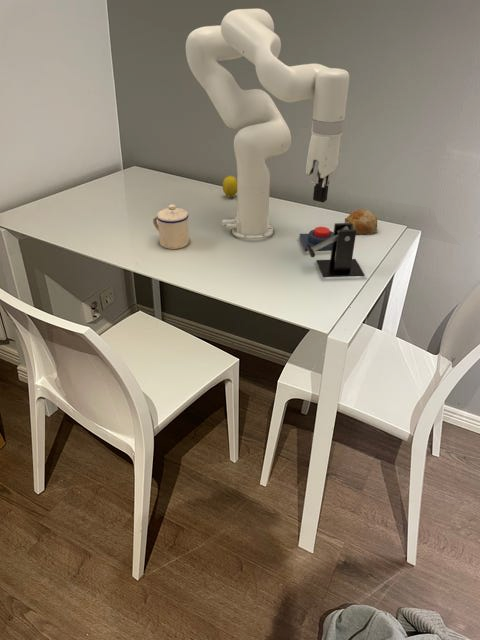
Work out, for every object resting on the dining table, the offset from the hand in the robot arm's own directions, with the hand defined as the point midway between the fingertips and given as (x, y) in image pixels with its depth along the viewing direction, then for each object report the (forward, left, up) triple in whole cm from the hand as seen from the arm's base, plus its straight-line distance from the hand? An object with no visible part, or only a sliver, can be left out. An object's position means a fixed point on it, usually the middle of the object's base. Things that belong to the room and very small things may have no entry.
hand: (319, 200), depth 128 cm
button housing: (+4, +8, -18) cm, 20 cm away
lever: (+2, -7, -10) cm, 12 cm away
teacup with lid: (-40, +14, -18) cm, 46 cm away
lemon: (-20, +49, -18) cm, 56 cm away
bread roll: (+19, +19, -18) cm, 32 cm away
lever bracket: (+6, -7, -18) cm, 20 cm away
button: (+4, +8, -14) cm, 17 cm away
